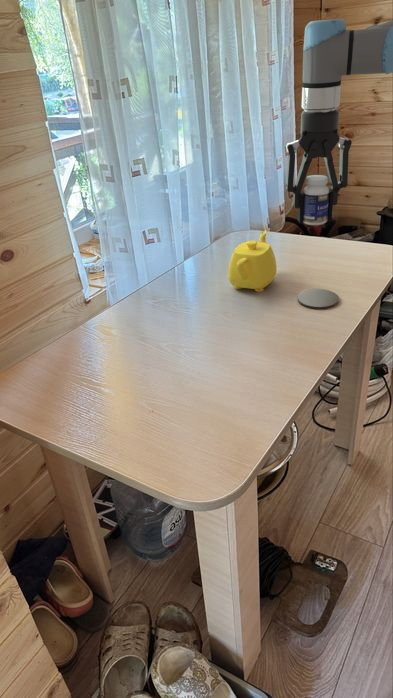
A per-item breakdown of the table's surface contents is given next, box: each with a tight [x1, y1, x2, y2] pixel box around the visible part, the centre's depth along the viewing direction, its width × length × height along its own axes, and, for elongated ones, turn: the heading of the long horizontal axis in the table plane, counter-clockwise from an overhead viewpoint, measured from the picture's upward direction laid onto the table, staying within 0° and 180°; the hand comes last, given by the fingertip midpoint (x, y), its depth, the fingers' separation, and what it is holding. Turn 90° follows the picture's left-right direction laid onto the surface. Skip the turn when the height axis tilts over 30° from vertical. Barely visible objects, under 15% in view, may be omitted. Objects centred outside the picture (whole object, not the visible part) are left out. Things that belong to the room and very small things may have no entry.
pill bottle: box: [302, 174, 330, 226], centre depth 114 cm, size 6×6×10 cm
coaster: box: [297, 288, 340, 310], centre depth 116 cm, size 9×9×1 cm
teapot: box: [227, 230, 277, 293], centre depth 123 cm, size 18×11×11 cm, turn 154°
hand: (314, 220), depth 117 cm, fingers closed on pill bottle, 6 cm apart
